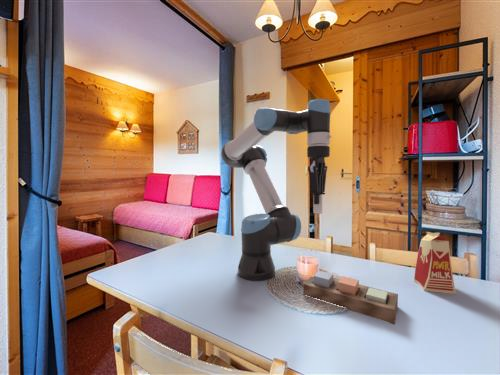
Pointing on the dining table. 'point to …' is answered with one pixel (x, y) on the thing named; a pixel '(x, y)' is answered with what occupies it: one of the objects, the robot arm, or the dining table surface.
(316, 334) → the dining table surface
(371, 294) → the sage button
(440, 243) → the milk carton
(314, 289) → the button panel
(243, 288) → the dining table surface
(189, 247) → the dining table surface
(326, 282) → the slate button
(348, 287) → the terracotta button
